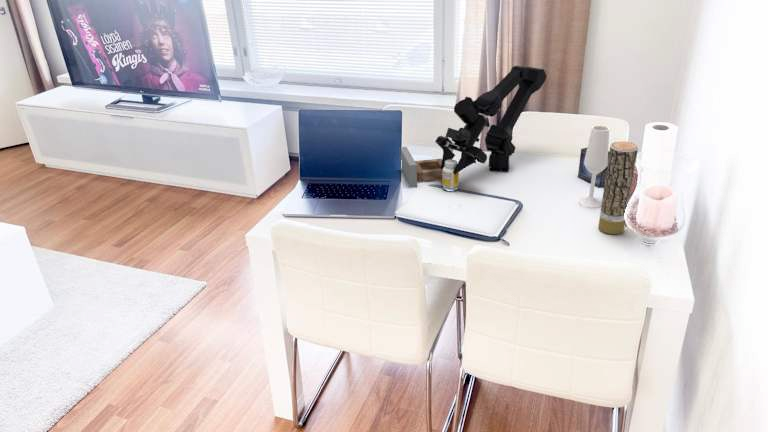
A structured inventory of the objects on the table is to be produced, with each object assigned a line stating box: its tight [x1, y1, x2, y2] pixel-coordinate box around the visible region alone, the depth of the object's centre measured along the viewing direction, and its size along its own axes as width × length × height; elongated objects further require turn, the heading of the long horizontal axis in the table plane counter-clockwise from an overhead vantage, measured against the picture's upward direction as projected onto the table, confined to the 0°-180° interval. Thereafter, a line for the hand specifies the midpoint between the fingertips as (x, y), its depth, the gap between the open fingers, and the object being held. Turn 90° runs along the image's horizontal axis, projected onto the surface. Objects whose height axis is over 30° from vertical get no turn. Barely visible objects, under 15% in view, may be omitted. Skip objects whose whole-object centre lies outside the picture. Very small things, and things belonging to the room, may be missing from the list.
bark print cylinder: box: [598, 140, 639, 235], centre depth 159 cm, size 7×7×25 cm
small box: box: [577, 147, 610, 189], centre depth 193 cm, size 11×6×10 cm, turn 25°
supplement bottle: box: [441, 159, 460, 189], centre depth 191 cm, size 5×5×10 cm
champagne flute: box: [578, 125, 610, 208], centre depth 175 cm, size 7×7×24 cm
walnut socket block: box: [414, 158, 443, 184], centre depth 203 cm, size 11×11×4 cm
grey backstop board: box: [401, 146, 418, 188], centre depth 201 cm, size 2×18×8 cm, turn 9°
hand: (447, 171), depth 189 cm, fingers closed on supplement bottle, 5 cm apart
